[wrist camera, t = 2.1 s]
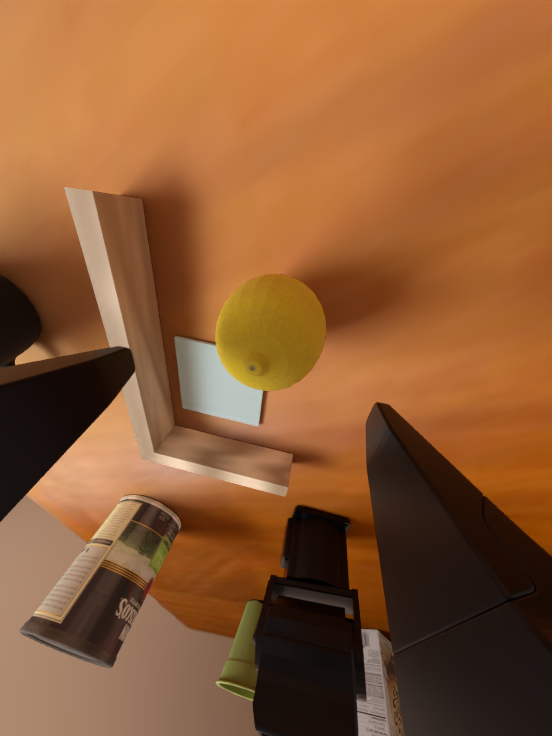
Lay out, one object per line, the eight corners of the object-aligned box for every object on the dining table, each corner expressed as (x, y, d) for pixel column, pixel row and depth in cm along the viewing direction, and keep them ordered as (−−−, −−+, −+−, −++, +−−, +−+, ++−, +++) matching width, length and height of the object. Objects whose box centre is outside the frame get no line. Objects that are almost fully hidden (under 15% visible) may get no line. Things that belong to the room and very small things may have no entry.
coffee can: (179, 505, 33) (97, 659, 21) (183, 537, 39) (120, 673, 27) (113, 486, 34) (-1, 624, 22) (126, 520, 40) (40, 645, 28)
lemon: (325, 259, 14) (323, 290, 7) (326, 344, 16) (326, 425, 10) (238, 269, 15) (165, 303, 8) (252, 346, 18) (206, 420, 11)
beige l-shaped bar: (351, 230, 13) (358, 231, 10) (290, 463, 24) (285, 496, 21) (119, 195, 14) (63, 186, 11) (163, 431, 25) (142, 458, 22)
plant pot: (299, 609, 46) (292, 708, 37) (280, 621, 53) (269, 707, 43) (244, 588, 46) (222, 682, 37) (231, 602, 53) (210, 685, 43)
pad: (267, 354, 18) (266, 356, 18) (259, 424, 22) (258, 426, 22) (176, 335, 18) (174, 337, 18) (184, 406, 22) (182, 408, 22)
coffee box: (396, 646, 46) (425, 819, 33) (365, 643, 49) (379, 801, 36) (378, 629, 43) (401, 811, 30) (346, 626, 46) (353, 792, 33)
